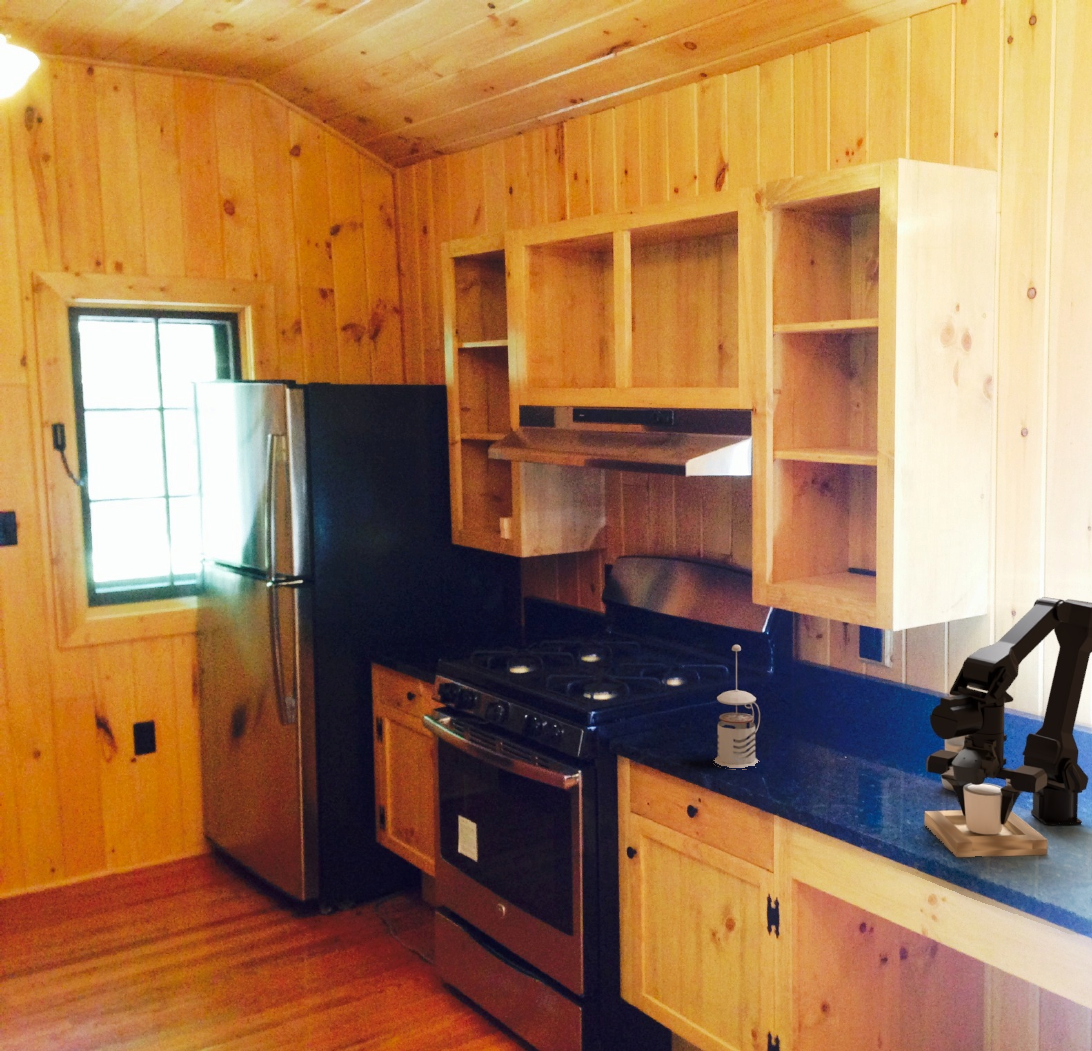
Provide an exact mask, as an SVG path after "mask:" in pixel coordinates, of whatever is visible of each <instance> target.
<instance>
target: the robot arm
mask: <svg viewBox="0 0 1092 1051" xmlns="http://www.w3.org/2000/svg"><path fill="white" fill-rule="evenodd" d="M1053 631H1054V634H1055V637H1056V640H1057V643H1058V646H1059V651H1058V654H1057V659H1056V663H1055V669H1054V672H1053V677H1052V681H1051V687H1050V691H1049V696H1048V700H1047V704H1046V707H1045V708H1046V709H1045V711H1044V712H1045V713H1044V717H1043V722H1042V726H1040V728H1039V729H1038V730H1037V731H1036V732H1034V733H1031V732H1029V733H1028V735H1027V736H1026V739H1025V740H1026V741H1025V748H1024V750H1023V752H1022V756H1023V764H1022V765H1020V766H1019V767H1017V768H1016V769H1012V768H1006V767H1004V766H1005V765H1007V757H1005V756H1004V755H1005V754H1004V753H1005V751H1004V750H1005V742H1006V741H1008V740H1007V737H1008V735H1007V734H1006V733H1005V704H1006V703H1007V704H1008V703H1011V702H1013V701H1014V697H1013V696H1012V695H1011V694H1009V693H1008V691H1007V690H1009V688H1010V687H1011V686H1012V685H1013V683H1014V681H1015V680H1016V679H1017V677H1018V675H1019V669H1020V664H1021V663H1022V661H1023V660H1024V659H1025V658H1027V657H1028V656H1029V655H1030V653H1031V652H1033V651H1034V650H1035V648H1037V647H1038V646H1039V644H1040V643H1041V642H1042V641H1043V640H1044V639H1045V638H1046V637H1047V636H1049V634H1050V633H1051V632H1053ZM1091 653H1092V602H1089V601H1083V600H1077V599H1072V598H1071V599H1070V598H1068V599H1065V600H1064V599H1062V598H1052V597H1048V596H1047V597H1046V596H1043V597H1038V598H1037V599H1036V600H1035V601H1034V603H1033V606H1032V607H1031V608H1030V610H1029V611H1028V612H1027V613H1025V615H1023V616H1022V617H1021V618H1020V619H1019V620H1018V621H1017V622H1016V623H1015V624H1014V625H1013V626H1012V627H1011V628H1010V629H1009V630H1008V631H1007V632H1006V633H1005V634H1004V635H1003V636H1001V638H1000V639H999V640H998V641H996V642H995V643H993V644H989V645H986V646H984V647H980V648H978V649H977V650H976V651H974V652H973V653H971V654H970V655H969V656H967V658H966V659H965V660H964V661H963V662H962V666H961V669H960V670H959V673H958V674H957V676H956V678H955V680H954V682H953V684H952V686H951V687H952V688H951V687H950V688H951V690H949V692H948V693H949V696H942V697H940V699H939V700H940V701H939V702H940V703H939V704H938V705H936V706H935V707H934V708H933V710H932V711H931V714H930V716H929V720H930V721H929V722H930V726H931V728H932V731H933V732H934V733H935V735H936V736H937V737H938V738H940V739H943V740H945V739H952V738H957V737H961V736H966V735H968V736H966V737H965V740H964V746H963V749H962V751H960V752H959V753H957V752H952V751H947V750H945V749H939V750H937V751H935V752H933V753H932V754H930V755H929V756H928V757H927V758H926V761H925V765H926V767H925V768H926V769H925V770H926V772H928V773H932V774H936V775H940V778H942V779H945V780H947V781H948V782H949V783H950V784H951V785H952V787H953V789H954V791H953V792H954V793H955V795H956V798H957V800H958V804H959V806H960V807H959V808H960V809H961V810H962V813H963V815H964V816H966V814H965V802H964V790H963V787H964V786H965V785H967V784H970V783H972V784H974V785H980V784H982V783H985V779H993V780H994V779H998V780H999V779H1000V780H1005V783H1006V785H1004V786H1002V787H1003V788H1001V789H1000V790H1001V793H1002V808H1001V824H1003V825H1004V824H1005V823H1006V822H1007V819H1008V817H1009V815H1010V813H1011V811H1012V810H1013V808H1014V806H1015V804H1016V802H1017V800H1018V798H1019V797H1020V795H1021V794H1022V793H1023V792H1024V793H1030V794H1032V810H1030V814H1031V815H1032V816H1034V817H1035V818H1037V820H1039V821H1040V822H1041V823H1042V824H1044V825H1047V826H1056V825H1058V826H1059V825H1060V826H1061V825H1064V826H1065V825H1082V824H1083V821H1082V820H1081V819H1080V818H1079V817H1078V808H1079V807H1078V805H1079V794H1080V793H1081V794H1082V793H1083V791H1085V790H1087V786H1088V782H1089V777H1088V775H1087V774H1086V773H1085V772H1084V770H1083V769H1082V768H1081V767H1080V765H1079V764H1078V761H1079V760H1078V759H1079V748H1078V745H1077V743H1076V740H1075V737H1074V734H1073V733H1074V727H1075V724H1076V719H1077V714H1078V710H1079V705H1080V701H1081V696H1082V691H1083V687H1084V683H1085V680H1086V679H1085V678H1086V675H1087V674H1086V673H1087V670H1088V665H1089V661H1090V655H1091ZM966 687H969V688H970V689H969V688H966ZM950 695H953V696H952V697H950ZM942 774H943V775H942ZM942 779H941V780H942ZM1012 812H1013V811H1012ZM1081 823H1082V824H1081Z"/></svg>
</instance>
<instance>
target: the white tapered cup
mask: <svg viewBox="0 0 1092 1051" xmlns="http://www.w3.org/2000/svg"><path fill="white" fill-rule="evenodd" d="M1003 787H1004V786H1000V785H997V784H993V783H988V782H983V783H982V784H980V785H974V784H972V783H970V784H967V785H965V786H964V787H963V790H964V802H965V814H966V826H967V828H968V829H969V830H970V831H972V832H976V833H980V834H998V833H1000V832H1001V831H1002V824H1001V808H1002V793H1001V790H1000V789H1001V788H1003Z"/></svg>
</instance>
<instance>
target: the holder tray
mask: <svg viewBox="0 0 1092 1051" xmlns="http://www.w3.org/2000/svg"><path fill="white" fill-rule="evenodd" d="M924 826H925V827H926V826H927V827H926V828H927V829H928V828H929V829H928V830H929V831H930V830H931V831H930V832H931V833H932V834H933V835H934V836H935V835H936V836H935V837H936V838H937V839H938V840H939V839H940V840H939V841H940V842H941V841H942V842H941V843H942V844H943V843H944V844H943V845H944V846H945V847H946V848H947V849H948V850H949V851H950V852H951V853H952V852H953V853H952V854H953V855H954V856H955V857H956V858H973V857H975V856H982V857H1008V856H1009V857H1011V856H1040V855H1042V856H1044V855H1046V856H1047V855H1048V842H1049V841H1048V838H1046V837H1045V836H1044V835H1042V834H1041V832H1038V831H1037V830H1036V829H1034V828H1033V827H1032V826H1031V825H1029V823H1027V822H1026V821H1025V820H1023V819H1022V818H1021V817H1020V816H1018V815H1017V814H1016V813H1014V811H1011V813H1010V815H1009V817H1008V819H1007V822H1006V823H1005V824H1004V825H1003V824H1002V831H1001V832H1000V833H998V834H980V833H976V832H972V831H970V830H969V829H968V828H967V826H966V816H964V815H963V813H962V810H960V809H959V810H927V811H926V810H925V811H924ZM975 858H976V857H975Z"/></svg>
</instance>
